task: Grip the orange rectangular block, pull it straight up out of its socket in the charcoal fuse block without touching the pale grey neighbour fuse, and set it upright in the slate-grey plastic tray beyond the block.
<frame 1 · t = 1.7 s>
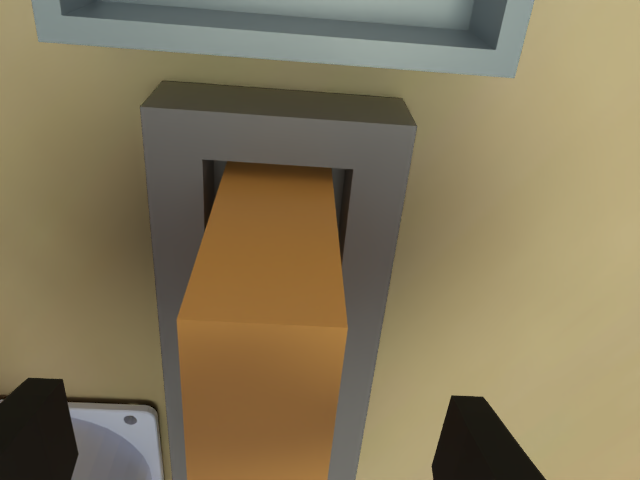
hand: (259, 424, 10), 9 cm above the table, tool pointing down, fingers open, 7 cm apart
fuse block: (273, 308, 20), on the table
orange rectangular block: (277, 218, 18), resting on fuse block
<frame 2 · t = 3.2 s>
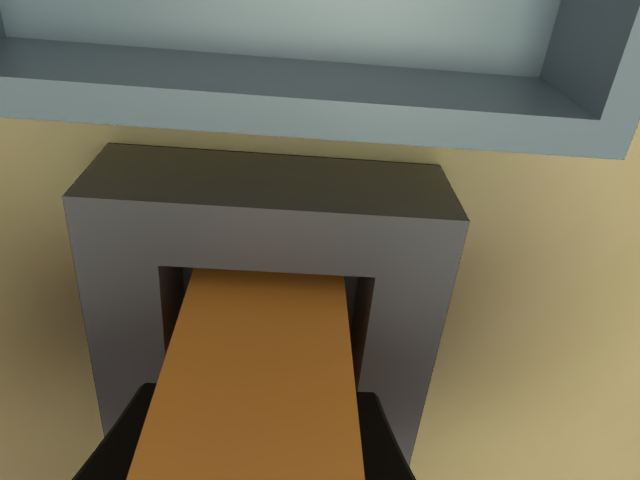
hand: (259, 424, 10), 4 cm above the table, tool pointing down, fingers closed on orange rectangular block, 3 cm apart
fuse block: (265, 417, 16), on the table
orange rectangular block: (269, 318, 13), resting on fuse block, touching gripper
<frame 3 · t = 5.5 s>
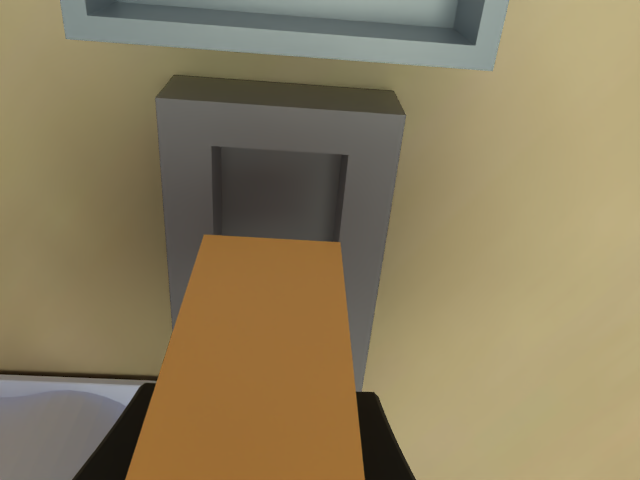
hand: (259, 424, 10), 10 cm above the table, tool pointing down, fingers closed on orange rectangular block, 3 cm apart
fuse block: (275, 287, 22), on the table
orange rectangular block: (269, 317, 13), point 7 cm above the table, touching gripper
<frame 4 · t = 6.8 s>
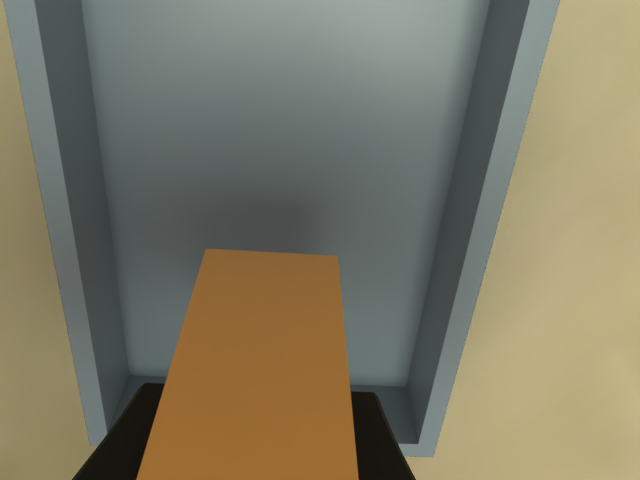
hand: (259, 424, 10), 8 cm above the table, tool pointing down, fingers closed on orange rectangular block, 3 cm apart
parts tray: (279, 185, 16), on the table
orange rectangular block: (269, 327, 14), point 4 cm above the table, touching gripper
when the fingers open (5 cm above the table, at t = 8.0 s): orange rectangular block stays where it is, resting on parts tray.
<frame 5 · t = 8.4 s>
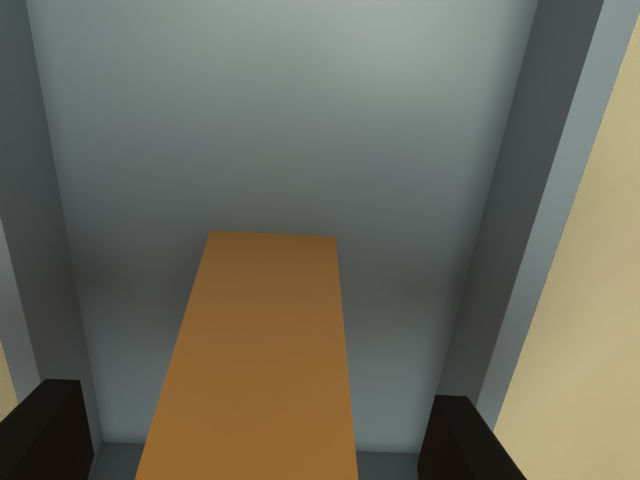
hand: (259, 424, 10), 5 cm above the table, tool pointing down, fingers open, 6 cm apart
parts tray: (274, 233, 14), on the table
orange rectangular block: (270, 306, 14), point 1 cm above the table, touching parts tray
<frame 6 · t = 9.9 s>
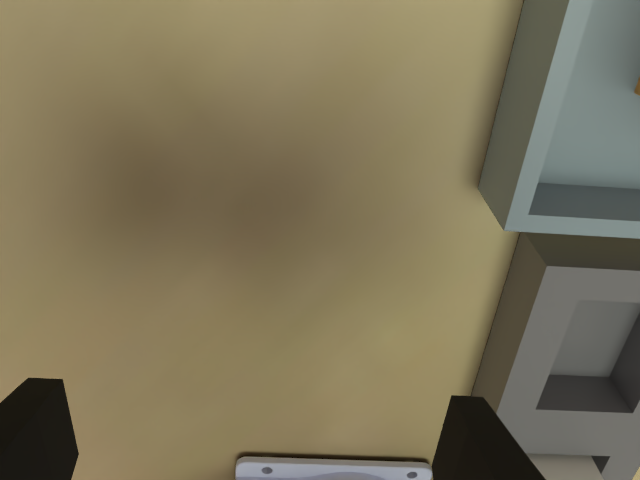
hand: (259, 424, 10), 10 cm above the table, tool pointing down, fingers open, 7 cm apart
neighbour fuse: (530, 456, 26), resting on fuse block
fuse block: (550, 388, 25), on the table
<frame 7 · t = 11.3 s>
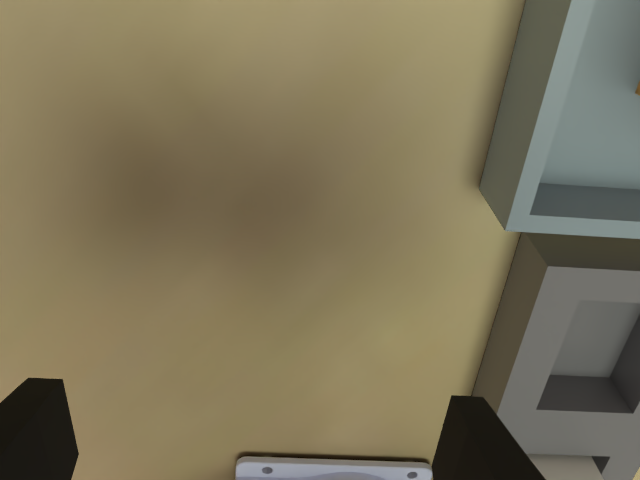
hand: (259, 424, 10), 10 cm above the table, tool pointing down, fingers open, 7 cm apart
neighbour fuse: (530, 456, 26), resting on fuse block
fuse block: (551, 388, 25), on the table
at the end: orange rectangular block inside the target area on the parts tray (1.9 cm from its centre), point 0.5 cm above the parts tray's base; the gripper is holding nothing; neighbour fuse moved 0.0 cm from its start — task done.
